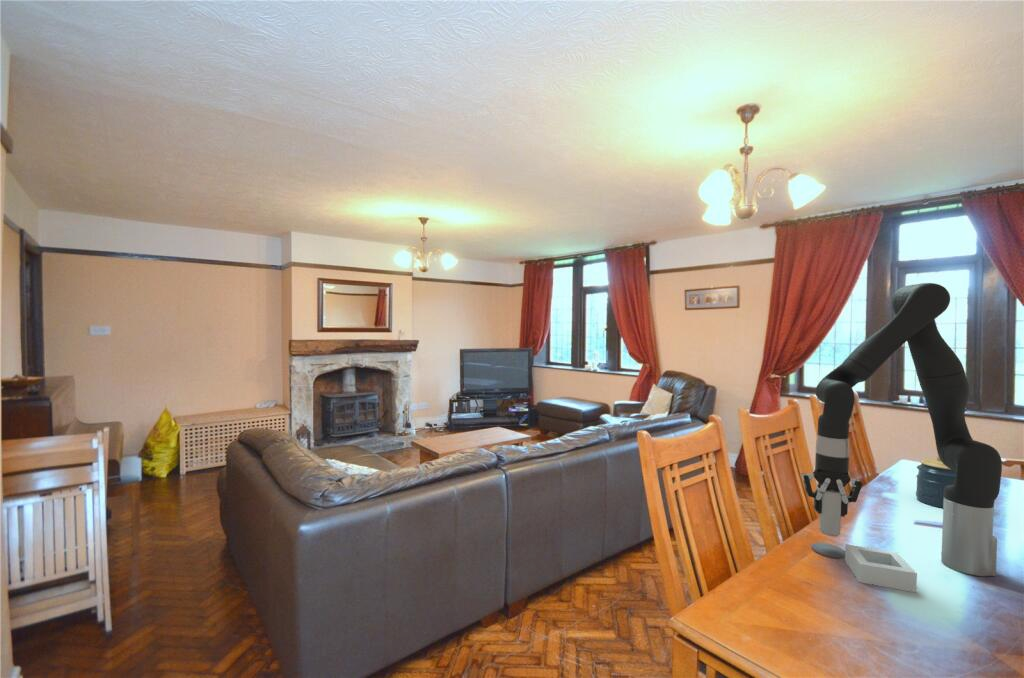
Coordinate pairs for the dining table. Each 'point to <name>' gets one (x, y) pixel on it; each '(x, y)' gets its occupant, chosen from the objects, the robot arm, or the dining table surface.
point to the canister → (933, 481)
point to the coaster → (828, 550)
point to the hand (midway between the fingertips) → (830, 513)
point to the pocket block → (880, 568)
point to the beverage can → (830, 513)
